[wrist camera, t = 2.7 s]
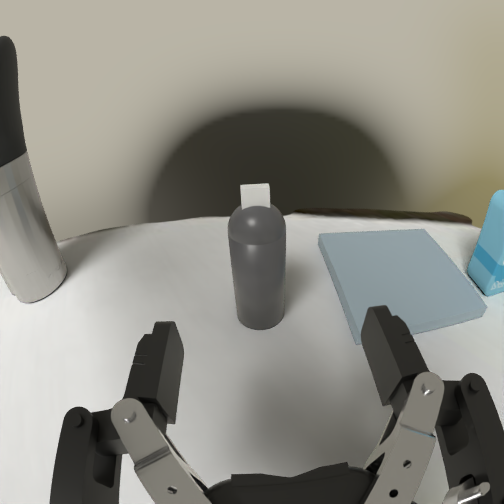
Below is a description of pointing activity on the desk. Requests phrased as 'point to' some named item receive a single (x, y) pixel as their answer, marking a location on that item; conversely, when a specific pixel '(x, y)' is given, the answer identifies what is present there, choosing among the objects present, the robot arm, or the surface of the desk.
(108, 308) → the desk surface
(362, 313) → the plate
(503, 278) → the data package
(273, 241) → the dark grey bottle
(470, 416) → the robot arm
